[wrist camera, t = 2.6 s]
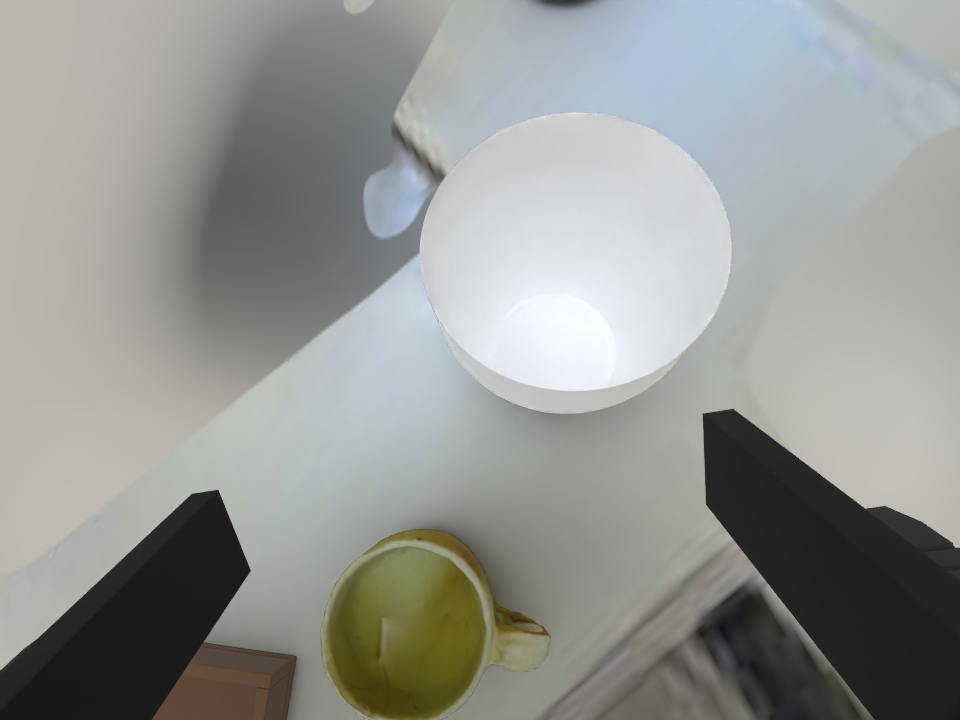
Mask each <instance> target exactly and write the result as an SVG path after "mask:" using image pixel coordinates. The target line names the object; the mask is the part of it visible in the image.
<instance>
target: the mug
mask: <svg viewBox="0 0 960 720" xmlns="http://www.w3.org/2000/svg"><path fill="white" fill-rule="evenodd" d="M550 637H551V636H550V635H549V633H548V632H547V631H546V630H545V629H544V627H542V626H540V625H538V624H537V623H536V622H535V621H533V620H531V619H529V618H527V617H525V616H523V615H522V614H521V613H517V612H511V611H509V610H507V609H503V608H502V607H500V606H498V604H497V603H496V602H495V600H494V599H493V597H492V595H491V591H490V587H489V584H488V581H487V578H486V576H485V574H484V572H483V570H482V568H481V566H480V564H479V562H478V561H477V559H476V558H475V556H474V554H473V553H472V552H471V550H470V549H469V548H468V547H467V546H466V545H465V544H463V543H462V542H461V541H460V540H458V539H457V538H455V537H453V536H451V535H449V534H447V533H444V532H441V531H435V530H428V529H419V530H410V531H404V532H401V533H397V534H394V535H392V536H390V537H387V538H385V539H383V540H381V541H380V542H378V543H377V544H376V545H375V546H373V547H372V548H371V549H369V550H368V551H367V552H366V553H364V554H363V555H362V556H360V557H359V558H358V559H357V560H355V561H354V562H353V563H352V564H351V565H350V566H349V567H348V568H347V569H346V570H345V571H344V573H343V575H342V576H341V578H340V579H339V580H338V581H337V583H336V584H335V585H334V587H333V590H332V592H331V595H330V598H329V600H328V603H327V606H326V610H325V613H324V619H323V622H322V625H321V645H322V660H323V665H324V668H325V670H326V673H327V675H328V678H329V680H330V682H331V684H332V686H333V687H334V689H335V690H336V692H337V693H338V695H339V696H340V697H341V698H342V700H343V701H344V702H345V703H346V704H347V705H348V706H350V707H351V708H352V709H353V710H354V711H355V712H356V713H358V714H359V715H361V716H362V717H364V718H366V719H368V720H442V719H444V718H445V717H447V716H449V715H450V714H452V713H453V712H455V711H456V710H458V709H459V708H460V707H461V706H462V705H463V704H464V703H465V702H466V701H467V699H468V698H469V697H470V696H471V694H472V693H473V691H474V689H475V688H476V686H477V684H478V683H479V681H480V679H481V677H482V675H483V673H484V671H485V670H486V668H487V667H488V666H490V665H492V664H494V665H498V666H501V667H503V668H506V669H508V670H511V671H519V672H528V671H530V670H533V669H537V668H538V667H539V666H540V665H541V664H542V662H543V661H544V660H545V658H546V657H547V655H548V651H549V645H550Z"/></svg>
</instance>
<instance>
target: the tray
mask: <svg viewBox="0 0 960 720" xmlns="http://www.w3.org/2000/svg"><path fill="white" fill-rule="evenodd" d="M295 661H296V656H291V655H284V654H277V653H270V652H263V651H256V650H249V649H242V648H235V647H228V646H221V645H214V644H207V643H202V645H201V646H200V648H199V649H198V651H197V652H196V654H195V655H194V657H193V658H192V660H191V662H190V663H189V665H188V666H187V668H186V669H185V671H184V672H183V674H182V675H181V677H180V678H179V680H178V681H177V683H176V684H175V686H174V687H173V689H172V690H171V692H170V693H169V695H168V696H167V698H166V699H165V701H164V702H163V704H162V705H161V707H160V708H159V710H158V711H157V713H156V714H155V716H154V717H153V719H152V720H286V718H287V712H288V705H289V699H290V693H291V686H292V680H293V673H294V667H295Z"/></svg>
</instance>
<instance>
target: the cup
mask: <svg viewBox="0 0 960 720" xmlns="http://www.w3.org/2000/svg"><path fill="white" fill-rule="evenodd" d="M731 262H732V239H731V231H730V226H729V220H728V217H727V214H726V210H725V207H724V205H723V202H722V200H721V198H720V196H719V193H718V192H717V190H716V188H715V186H714V185H713V183H712V181H711V180H710V178H709V177H708V176H707V174H706V173H705V171H704V170H703V169H702V168H701V167H700V165H699V164H698V163H697V162H696V161H695V160H694V159H693V158H692V157H691V156H690V155H689V154H688V153H687V152H686V151H684V150H683V149H682V148H681V147H679V146H678V145H677V144H675V143H674V142H673V141H671V140H670V139H668V138H666V137H665V136H663V135H662V134H660V133H658V132H656V131H654V130H652V129H650V128H648V127H646V126H643V125H641V124H638V123H636V122H633V121H629V120H626V119H623V118H619V117H614V116H609V115H603V114H595V113H561V114H553V115H547V116H542V117H537V118H533V119H530V120H526V121H523V122H520V123H518V124H515V125H512V126H510V127H508V128H506V129H503V130H501V131H499V132H497V133H496V134H494V135H492V136H490V137H489V138H487V139H485V140H484V141H483V142H481V143H480V144H478V145H477V146H475V147H474V148H473V149H472V150H471V151H469V152H468V153H467V154H466V155H465V156H464V157H463V158H462V159H461V160H460V161H459V162H458V163H457V164H456V165H455V166H454V167H453V168H452V169H451V171H450V172H449V173H448V174H447V176H446V177H445V178H444V180H443V181H442V183H441V184H440V186H439V188H438V189H437V191H436V193H435V195H434V197H433V199H432V201H431V203H430V206H429V208H428V211H427V214H426V217H425V220H424V224H423V229H422V234H421V243H420V264H421V273H422V278H423V283H424V287H425V290H426V293H427V296H428V299H429V301H430V304H431V306H432V308H433V310H434V312H435V314H436V316H437V319H438V322H439V325H440V328H441V331H442V333H443V336H444V338H445V340H446V342H447V344H448V346H449V348H450V349H451V351H452V353H453V354H454V356H455V357H456V358H457V360H458V361H459V362H460V364H461V365H462V366H463V367H464V368H465V369H466V370H467V372H468V373H469V374H470V375H471V376H473V377H474V378H475V379H476V380H477V381H478V382H479V383H480V384H481V385H483V386H484V387H486V388H487V389H488V390H490V391H491V392H493V393H494V394H496V395H498V396H499V397H501V398H503V399H505V400H507V401H509V402H512V403H514V404H516V405H519V406H522V407H525V408H528V409H532V410H536V411H540V412H546V413H556V414H574V413H585V412H592V411H597V410H601V409H605V408H608V407H611V406H614V405H617V404H619V403H622V402H624V401H626V400H628V399H630V398H633V397H635V396H637V395H638V394H640V393H641V392H643V391H645V390H646V389H648V388H649V387H651V386H652V385H653V384H655V383H656V382H657V381H659V380H660V379H661V378H662V377H663V376H664V375H665V374H666V373H667V372H668V371H669V370H670V369H671V368H672V367H673V366H674V364H675V363H676V362H677V361H678V360H679V358H680V357H681V356H682V355H683V353H684V352H685V351H686V350H687V349H688V348H689V347H690V346H691V344H692V343H693V342H694V341H695V340H696V339H697V338H698V336H699V335H700V334H701V333H702V332H703V331H704V329H705V328H706V327H707V325H708V324H709V322H710V321H711V319H712V318H713V316H714V314H715V312H716V311H717V309H718V307H719V305H720V303H721V300H722V298H723V295H724V293H725V290H726V287H727V283H728V279H729V276H730V269H731Z"/></svg>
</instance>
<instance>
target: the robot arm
mask: <svg viewBox="0 0 960 720" xmlns="http://www.w3.org/2000/svg"><path fill="white" fill-rule="evenodd" d="M703 430H704V458H705V486H706V505H707V506H708V508H709V509H710V510H711V511H712V513H713V514H714V515H715V516H716V518H717V519H718V520H719V522H720V523H721V524H722V525H723V527H724V528H725V529H726V531H727V532H728V533H729V534H730V536H731V537H732V538H733V539H734V541H735V542H736V543H737V545H738V546H739V547H740V548H741V550H742V551H743V552H744V553H745V555H746V556H747V557H748V559H749V560H750V561H751V562H752V564H753V565H754V566H755V568H756V569H757V570H758V571H759V573H760V574H761V575H762V576H763V578H764V579H765V580H766V582H767V583H768V584H769V585H770V587H771V588H772V589H773V590H774V592H775V593H776V594H777V596H778V597H779V598H780V599H781V601H782V602H783V603H784V605H785V606H786V607H787V608H788V610H789V611H790V612H791V613H792V615H793V616H794V617H795V619H796V620H797V621H798V622H799V624H800V625H801V626H802V627H803V629H804V630H805V631H806V633H807V634H808V635H809V636H810V638H811V639H812V640H813V642H814V643H815V644H816V645H817V647H818V648H819V649H820V650H821V652H822V653H823V654H824V656H825V657H826V658H827V659H828V661H829V662H830V663H831V664H832V666H833V667H834V668H835V670H836V671H837V672H838V673H839V675H840V676H841V677H842V679H843V680H844V681H845V682H846V684H847V685H848V686H849V687H850V689H851V690H852V691H853V693H854V694H855V695H856V696H857V698H858V699H859V700H860V701H861V703H862V704H863V705H864V707H865V708H866V709H867V710H868V712H869V713H870V714H871V716H872V717H873V718H874V719H875V720H960V548H955V547H954V546H953V543H952V542H950V541H949V540H947V539H946V538H944V537H943V536H942V535H940V534H939V533H937V532H936V531H934V530H933V529H931V528H930V527H928V526H927V525H926V524H924V523H923V522H921V521H918V520H916V519H914V518H911V517H909V516H907V515H904V514H902V513H900V512H897V511H895V510H893V509H891V508H888V507H886V506H882V507H876V508H868V509H865V508H864V507H862V506H861V505H859V504H858V503H857V502H856V501H854V500H853V499H852V498H850V497H849V496H848V495H846V494H845V493H844V492H842V491H841V490H840V489H838V488H837V487H836V486H834V485H833V484H832V483H830V482H829V481H828V480H826V479H825V478H824V477H822V476H821V475H820V474H818V473H817V472H816V471H815V470H813V469H812V468H810V467H809V466H808V465H807V464H805V463H804V462H803V461H801V460H800V459H799V458H797V457H796V456H795V455H793V454H792V453H791V452H789V451H788V450H787V449H785V448H784V447H783V446H781V445H780V444H779V443H778V442H776V441H775V440H774V439H772V438H771V437H770V436H768V435H767V434H766V433H764V432H763V431H762V430H760V429H759V428H758V427H756V426H755V425H754V424H752V423H751V422H750V421H748V420H747V419H746V418H744V417H743V416H742V415H740V414H739V413H738V412H736V411H735V410H734V409H730V410H724V411H717V412H711V413H705V414H703ZM250 571H251V570H250V568H249V565H248V563H247V560H246V558H245V555H244V553H243V550H242V548H241V545H240V543H239V540H238V538H237V535H236V533H235V530H234V528H233V525H232V523H231V520H230V518H229V515H228V513H227V510H226V508H225V505H224V503H223V500H222V498H221V495H220V493H219V490H214V491H208V492H201V493H195V494H191V495H190V496H189V497H188V498H187V499H186V500H185V501H184V502H183V503H182V504H181V505H180V506H179V507H177V508H176V509H175V510H174V511H173V512H172V513H171V514H170V515H169V516H168V517H167V518H166V519H165V520H164V521H163V522H161V523H160V524H159V525H158V526H157V527H156V528H155V529H154V530H153V531H152V532H151V533H150V534H149V535H148V536H147V537H146V538H144V539H143V540H142V541H141V542H140V543H139V544H138V545H137V546H136V547H135V548H134V549H133V550H132V551H131V552H130V553H128V554H127V555H126V556H125V557H124V558H123V559H122V560H121V561H120V562H119V563H118V564H117V565H116V566H115V567H114V568H112V569H111V570H110V571H109V572H108V573H107V574H106V575H105V576H104V577H103V578H102V579H101V580H100V581H99V582H98V583H97V584H95V585H94V586H93V587H92V588H91V589H90V590H89V591H88V592H87V593H86V594H85V595H84V596H83V597H82V598H81V599H79V600H78V601H77V602H76V603H75V604H74V605H73V606H72V607H71V608H70V609H69V610H68V611H67V612H66V613H65V614H63V615H62V616H61V617H60V618H59V619H58V620H57V621H56V622H55V623H54V624H53V625H52V626H51V627H50V628H49V629H48V630H46V631H45V632H44V633H43V634H42V635H41V636H40V637H39V638H38V639H37V640H35V641H34V642H33V643H31V644H30V645H28V646H27V647H26V648H24V649H23V650H22V651H21V652H20V653H19V654H18V655H17V656H16V657H15V658H13V659H12V660H11V661H10V662H9V663H8V664H7V665H6V666H5V667H4V668H3V669H2V670H1V671H0V720H152V719H153V717H154V716H155V714H156V713H157V711H158V710H159V708H160V707H161V705H162V704H163V702H164V701H165V699H166V698H167V696H168V695H169V693H170V692H171V690H172V689H173V687H174V686H175V684H176V683H177V681H178V680H179V678H180V677H181V675H182V674H183V672H184V671H185V669H186V668H187V666H188V665H189V663H190V662H191V660H192V658H193V657H194V655H195V654H196V652H197V651H198V649H199V648H200V646H201V645H202V643H203V642H204V640H205V639H206V637H207V636H208V634H209V633H210V631H211V630H212V628H213V627H214V625H215V624H216V622H217V621H218V619H219V618H220V616H221V615H222V613H223V612H224V610H225V609H226V607H227V606H228V604H229V603H230V601H231V600H232V598H233V597H234V595H235V594H236V592H237V591H238V589H239V588H240V586H241V585H242V583H243V582H244V580H245V579H246V577H247V576H248V574H249V573H250Z"/></svg>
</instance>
